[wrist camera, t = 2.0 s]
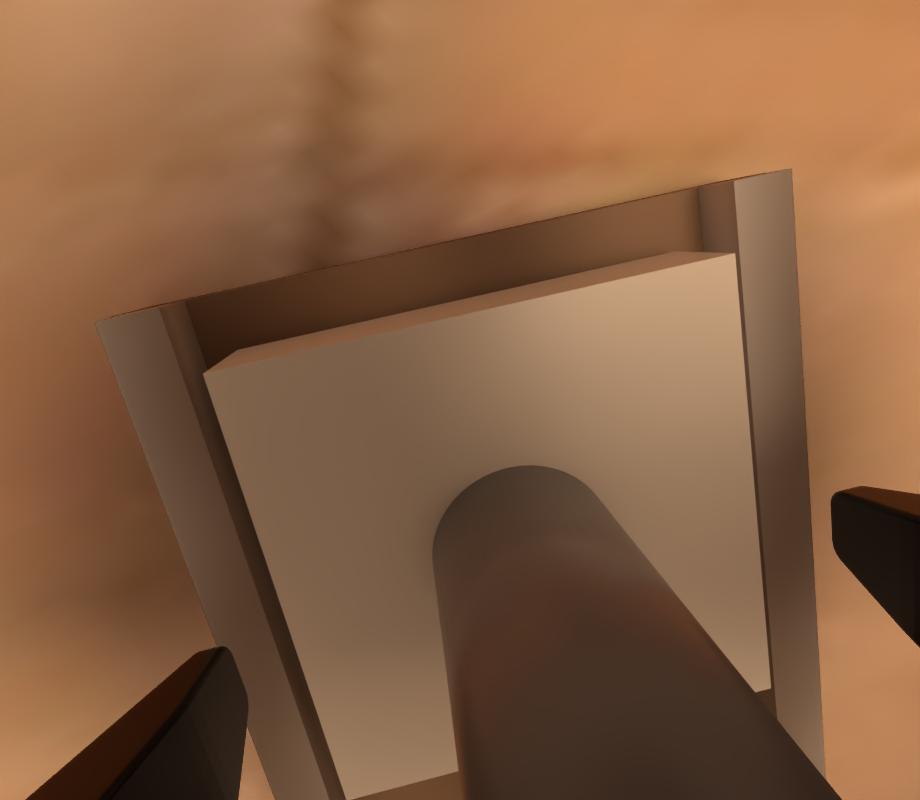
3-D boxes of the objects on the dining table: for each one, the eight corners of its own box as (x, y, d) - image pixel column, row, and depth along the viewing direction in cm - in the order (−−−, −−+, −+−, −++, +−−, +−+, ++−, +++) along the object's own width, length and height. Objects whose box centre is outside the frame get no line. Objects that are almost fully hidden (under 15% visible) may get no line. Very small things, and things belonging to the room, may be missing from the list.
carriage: (675, 251, 11) (1353, 270, 3) (715, 622, 13) (1179, 1168, 5) (237, 349, 10) (-189, 642, 3) (353, 715, 13) (292, 1451, 5)
